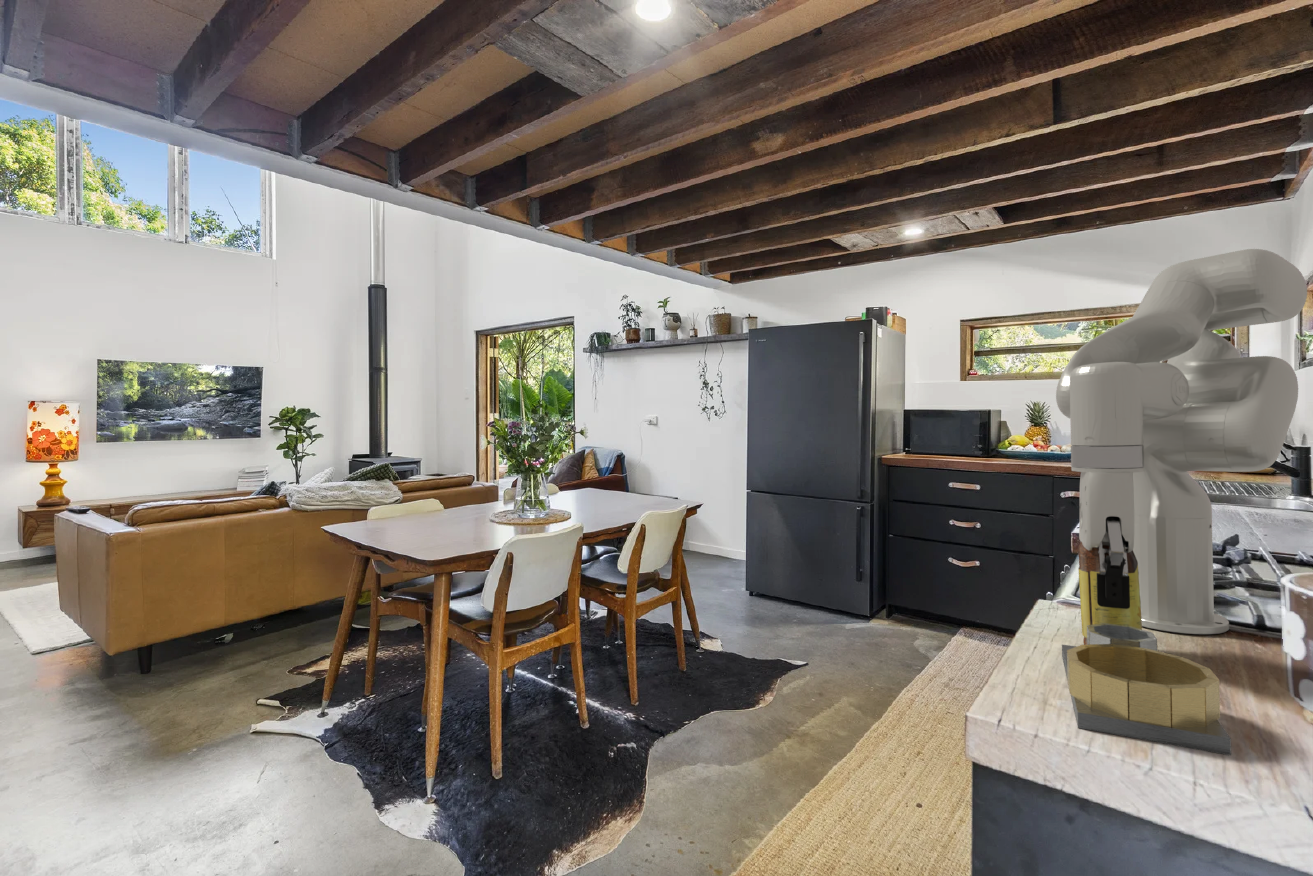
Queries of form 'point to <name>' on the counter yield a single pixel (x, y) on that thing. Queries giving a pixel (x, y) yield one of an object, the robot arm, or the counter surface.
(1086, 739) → the counter surface
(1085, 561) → the sauce bottle
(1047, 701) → the counter surface
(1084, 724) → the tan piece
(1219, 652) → the counter surface
